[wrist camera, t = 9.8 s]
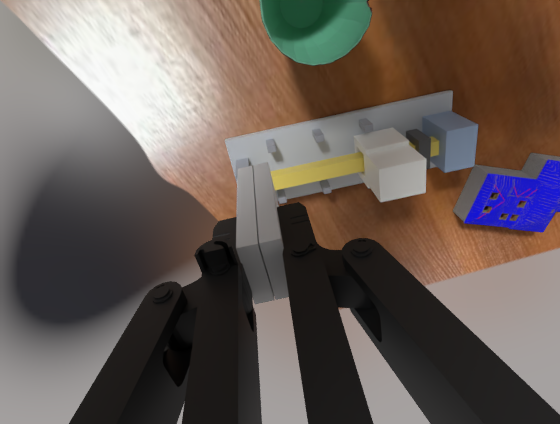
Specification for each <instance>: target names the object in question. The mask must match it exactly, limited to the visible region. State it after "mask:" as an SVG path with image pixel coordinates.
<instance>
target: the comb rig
mask: <svg viewBox="0 0 560 424" xmlns="http://www.w3.org/2000/svg"><path fill="white" fill-rule="evenodd" d="M452 99H453V91H451V90H447V91H442V92H437V93H433V94H428V95H424V96H419V97H415V98H410V99H406V100H401V101H396V102H392V103H387V104H383V105H378V106H374V107H369V108H365V109H360V110H355V111H351V112H346V113H342V114H337V115H333V116H328V117H323V118H319V119H314V120H310V121H305V122H301V123H296V124H292V125H287V126H282V127H278V128H273V129H269V130H264V131H260V132H255V133H251V134H246V135H241V136H237V137H232V138H228V139H225V143H226V147H227V150H228V154H229V157H230V161H231V164H232V168H233V171H234V175H235V178H236V182H237V170H238V169H239V168H244V167H248V166H253V165H257V164H261V163H265V162H268V164H269V168H270V172H271V176H272V180H273V184H274V189H275V193H276V197H277V201H279V204H281V203H286V202H287V200H286V199H291V198H295V197H300V196H304V195H309V194H314V193H318V192H323V193H324V194H327V193H332V192H331V190H332V189H337V188H341V187H346V186H351V185H355V184H360V183H364V182H363V180H362V179H361V177H360V176H359V174H358V172H362V171H365V168H364V155H363V154H362V152H357V153H355V148H354V136H356V135H360V134H365V133H369V132H374V131H379V130H383V129H388V128H392V127H393V128H394V129H395V130H397V131H398V132H399V133H400V134H402V135H403V136H404V137H405V138H407V139H408V140H409V145H410V146H411V147H413V148H414V149H415V150H416V151H417V152H419V153H420V154H421V155H422V156H423V157H425V158H426V159H427V160H426V169H429V168H434V167H438V168H439V169H440V170H442V171H443V172H444V173H446V172H451V171H455V170H460V169H465V168H469V167H474V163H475V153H476V143H477V133H478V124H476V123H474V122H472V121H470V120H468V119H466V118H464V117H462V116H460V115H458V114H456V113H454V112H452ZM253 170H254V169H253Z"/></svg>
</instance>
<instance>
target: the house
mask: <svg viewBox="0 0 560 424" xmlns="http://www.w3.org/2000/svg"><path fill="white" fill-rule="evenodd" d="M453 212H454V213H455V214H456V215H457V216H458V217H459V218H460V219H461V220H463V221H464V223H467V224H477V225H488V226H498V227H508V229H515V230H525V231H535V232H544V230H545V228H546V227H547V225H548V224H549V222H550V220H551V219H552V217H553V216H554V214H555V213H556V212H560V157H558V156H551V155H544V154H537V153H530V155H529V157H528V159H527V161H526V163H525V165H524V166H523V168H522V170H521V171H520V170H513V169H505V168H497V167H490V166H482V165H474V167H473V169H472V171H471V173H470V175H469V177H468V179H467V181H466V184H465V186H464V188H463V190H462V192H461V194H460V197H459V199H458V201H457V203H456V205H455V207H454V209H453Z"/></svg>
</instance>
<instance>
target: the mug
mask: <svg viewBox="0 0 560 424" xmlns="http://www.w3.org/2000/svg"><path fill="white" fill-rule="evenodd" d="M368 1H369V0H260V8H261V16H262V22H263V24H264V27H265V29H266V31H267V34H268V36H269V38H270V40H271V41H272V42H273V43H274V45H275V46H276V47H277V48H278V49H279V50H280V52H281V53H282V54H284V55H285V56H287V57H289V58H290V59H292V60H294V61H295V62H297V63H302V64H307V65H312V66H316V65H323V64H329V63H332V62H334V61H336V60H338V59H340V58H342V57H344V56H346V55H347V54H348V53H349V52H350V51H351V50H352V49H353V48H354V47H355V46H356V45H357V44H358V43H359V42H360V40H361V39H362V37H363V35H364V34H365V32H366V30H367V29H368V27H369V25H370V21H371V16H372V8H371V7H369V4H368Z"/></svg>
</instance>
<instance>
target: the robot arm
mask: <svg viewBox="0 0 560 424" xmlns="http://www.w3.org/2000/svg"><path fill="white" fill-rule="evenodd" d="M253 169H254V170H253ZM195 257H196V260H197V262H198V264H199V267H200V269H201V272H202V277H201V278H200V279H198V280H197V281H195V282H193V283H191V284H189V285H187V286H184V287H181V285H180V284H178V283H177V282H171V281H170V282H165V283H162V284H160V285H157V286H156V287H154V288H153V289H152V290H150V291H149V292H148V294H147V295H146V296H145V298H144V299H143V301H142V303H141V304H140V306H139V308H138V309H137V311H136V313H135V314H134V316H133V318H132V319H131V321H130V323H129V325H128V326H127V328H126V329H125V331H124V333H123V334H122V336H121V338H120V339H119V341H118V343H117V344H116V346H115V348H114V349H113V351H112V353H111V354H110V356H109V358H108V359H107V361H106V363H105V365H104V366H103V368H102V369H101V371H100V373H99V374H98V376H97V378H96V379H95V381H94V383H93V384H92V386H91V388H90V389H89V391H88V393H87V394H86V396H85V398H84V399H83V401H82V403H81V404H80V406H79V408H78V409H77V411H76V413H75V414H74V416H73V418H72V419H71V421H70V423H69V424H177V421H178V418H179V415H180V413H181V410H182V407H183V404H184V401H185V404H184V412H183V419H182V424H262V419H261V400H260V383H259V382H260V381H259V363H258V345H257V327H256V314H255V311H254V308H253V303H252V297H253V300H254V303H255V304H258V303H263V302H268V301H272V300H274V296H275V299H281V298H286V297H289V300H290V307H291V313H292V320H293V326H294V333H295V340H296V346H297V353H298V360H299V366H300V372H301V379H302V385H303V392H304V398H305V405H306V412H307V418H308V424H373V421H372V418H371V415H370V411H369V409H368V405H367V401H366V398H365V395H364V392H363V388H362V385H361V382H360V379H359V375H358V372H357V369H356V365H355V362H354V359H353V356H352V352H351V349H350V346H349V343H348V340H347V336H346V333H345V330H344V326H343V323H342V320H341V317H340V313H339V310H338V307H341V308H350V310H351V312H352V314H353V315H354V316H355V318H356V319H357V321H358V322H359V323H360V325H361V326H362V327H363V329H364V330H365V332H366V333H367V335H368V336H369V337H370V339H371V340H372V342H373V343H374V344H375V346H376V347H377V349H378V350H379V352H380V353H381V354H382V356H383V357H384V359H385V360H386V361H387V363H388V364H389V366H390V367H391V368H392V370H393V371H394V373H395V374H396V376H397V377H398V378H399V380H400V381H401V383H402V384H403V385H404V387H405V388H406V390H407V391H408V392H409V394H410V395H411V396H412V398H413V399H414V401H415V402H416V404H417V405H418V407H419V408H420V409H421V411H422V412H423V414H424V415H425V416H426V418H427V419H428V421H429V422H430V423H431V424H560V415H559V414H558V413H557V412H556V411H555V410H554V409H553V408H552V407H551V406H550V405H549V404H548V403H547V402H545V400H544V399H542V398H541V397H540V396H539V395H538V394H537V393H536V392H535V391H534V390H533V389H532V388H531V387H530V386H529V385H527V384H526V382H525V381H523V380H522V379H521V378H520V377H519V376H518V375H517V374H516V373H515V372H514V371H513V370H512V369H511V368H510V367H509V366H508V365H507V364H506V363H505V362H503V361H502V360H501V359H500V358H499V357H498V356H497V355H496V354H495V353H494V352H493V351H492V350H491V349H490V348H488V346H487V345H485V344H484V343H483V342H482V341H481V340H480V339H479V338H478V337H477V336H476V335H475V334H474V333H473V332H472V331H471V330H470V329H469V328H468V327H467V326H465V325H464V324H463V323H462V322H461V321H460V320H459V319H458V318H457V317H456V316H455V315H454V314H453V313H452V312H451V311H450V310H449V309H447V308H446V307H445V306H444V305H443V304H442V303H441V302H440V301H439V300H438V299H437V298H436V297H435V296H434V295H433V294H432V293H431V292H430V291H429V290H428V289H427V288H425V287H424V286H423V285H422V284H421V283H420V282H419V281H418V280H417V279H416V278H415V277H414V276H413V275H412V274H411V273H410V272H409V271H408V270H407V269H405V268H404V267H403V266H402V265H401V264H400V263H399V262H398V261H397V260H396V259H395V258H394V257H393V256H392V255H391V254H390V253H389V252H388V251H386V250H385V249H384V248H383V247H382V246H381V245H380V244H379V243H378V242H376V241H374V240H371V239H367V238H358V239H354V240H351V241H349V242H348V243H346V244H345V245H344V247H343V248H342V250H329V249H325V248H323V247H321V246H320V245H319V244H317V242H316V239H315V236H314V233H313V230H312V227H311V223H310V220H309V217H308V214H307V210H306V207H305V206H303V205H302V204H301V203H299V202H297V203H293V204H289V205H284V206H280V207H279V205H278V201H277V197H276V193H275V189H274V184H273V180H272V176H271V172H270V168H269V164H268V162H265V163H261V164H257V165H253V166H248V167H244V168H239V169H238V170H237V217H235V218H230V219H226V220H221V221H219V222H218V223H217V225H216V226H215V227H214V230H213V238H212V240H211V241H208V242H206V243H205V244H203V245H201V246H200V247H199V248H198V249H197V250H196V253H195Z"/></svg>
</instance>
